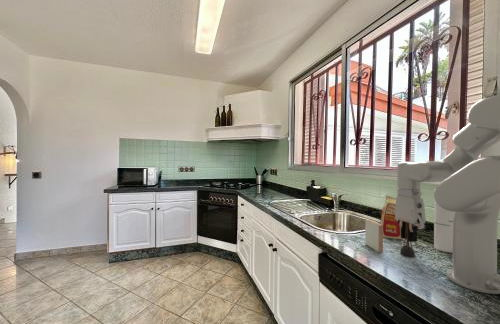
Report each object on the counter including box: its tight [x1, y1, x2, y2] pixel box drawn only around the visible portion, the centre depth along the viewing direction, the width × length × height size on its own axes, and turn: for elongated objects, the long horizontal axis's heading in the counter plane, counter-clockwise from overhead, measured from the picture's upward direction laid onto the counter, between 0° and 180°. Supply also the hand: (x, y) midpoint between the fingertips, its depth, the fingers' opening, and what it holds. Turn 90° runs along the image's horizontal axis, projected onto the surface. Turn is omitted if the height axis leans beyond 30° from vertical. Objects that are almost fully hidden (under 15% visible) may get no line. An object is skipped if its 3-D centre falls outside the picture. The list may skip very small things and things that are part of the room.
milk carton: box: [380, 194, 403, 240], centre depth 110 cm, size 9×9×20 cm
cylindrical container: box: [433, 188, 455, 254], centre depth 93 cm, size 7×7×25 cm
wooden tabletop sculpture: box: [399, 222, 416, 258], centre depth 87 cm, size 6×5×20 cm
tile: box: [364, 218, 384, 253], centre depth 94 cm, size 9×2×11 cm, turn 5°
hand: (408, 239), depth 87 cm, fingers open, 3 cm apart
